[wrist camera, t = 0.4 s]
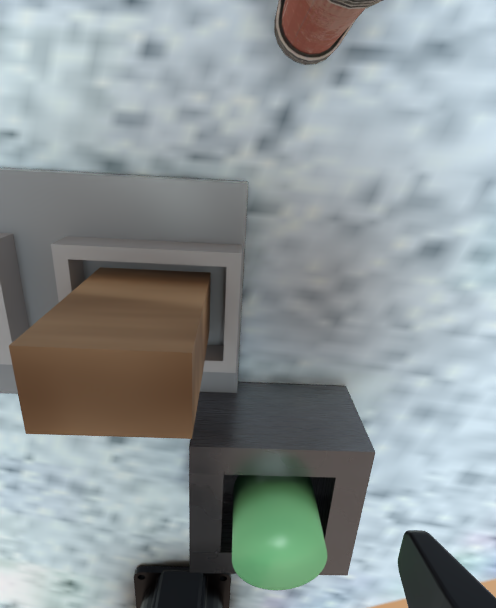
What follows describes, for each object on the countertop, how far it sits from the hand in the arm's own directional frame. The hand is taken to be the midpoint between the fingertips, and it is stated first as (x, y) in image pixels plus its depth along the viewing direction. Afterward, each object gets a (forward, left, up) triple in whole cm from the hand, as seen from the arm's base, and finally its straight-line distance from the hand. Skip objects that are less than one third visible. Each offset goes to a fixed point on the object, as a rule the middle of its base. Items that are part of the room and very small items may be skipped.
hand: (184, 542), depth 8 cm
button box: (-8, -3, -13) cm, 15 cm away
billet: (+1, +3, -12) cm, 12 cm away
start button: (-8, -3, -9) cm, 13 cm away
